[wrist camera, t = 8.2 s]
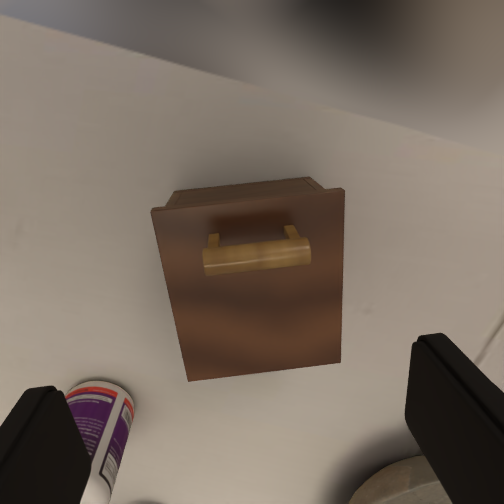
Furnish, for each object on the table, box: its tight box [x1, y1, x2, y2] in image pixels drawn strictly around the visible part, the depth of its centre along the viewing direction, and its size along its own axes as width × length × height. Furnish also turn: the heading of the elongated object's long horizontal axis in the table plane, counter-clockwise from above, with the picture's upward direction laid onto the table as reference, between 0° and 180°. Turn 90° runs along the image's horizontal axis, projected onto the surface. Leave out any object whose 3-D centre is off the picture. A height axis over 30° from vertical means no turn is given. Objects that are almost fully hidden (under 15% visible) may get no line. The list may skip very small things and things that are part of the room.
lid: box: [151, 188, 345, 382], centre depth 23 cm, size 14×13×5 cm
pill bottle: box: [65, 381, 135, 504], centre depth 34 cm, size 8×8×14 cm
